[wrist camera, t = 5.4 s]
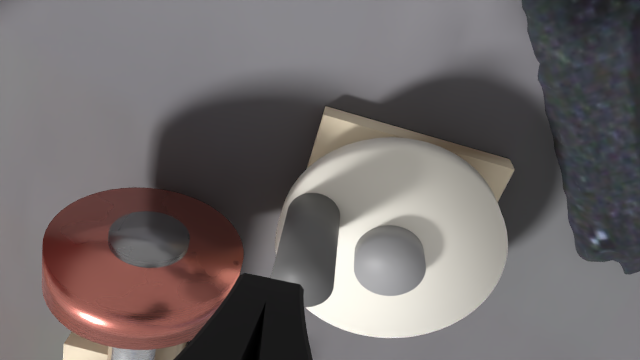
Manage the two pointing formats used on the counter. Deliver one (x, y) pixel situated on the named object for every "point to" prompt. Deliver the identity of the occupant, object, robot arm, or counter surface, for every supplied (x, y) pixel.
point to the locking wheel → (391, 238)
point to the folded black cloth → (594, 117)
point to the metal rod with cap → (138, 268)
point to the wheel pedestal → (353, 128)
